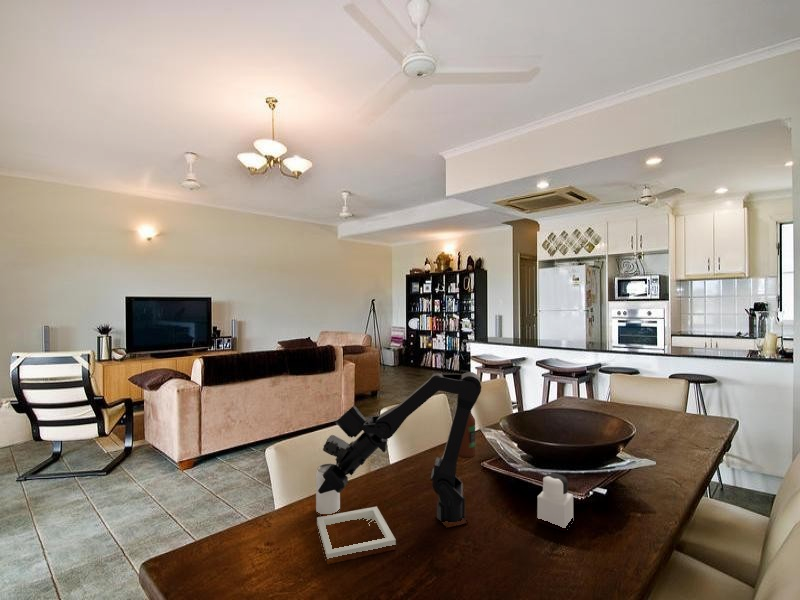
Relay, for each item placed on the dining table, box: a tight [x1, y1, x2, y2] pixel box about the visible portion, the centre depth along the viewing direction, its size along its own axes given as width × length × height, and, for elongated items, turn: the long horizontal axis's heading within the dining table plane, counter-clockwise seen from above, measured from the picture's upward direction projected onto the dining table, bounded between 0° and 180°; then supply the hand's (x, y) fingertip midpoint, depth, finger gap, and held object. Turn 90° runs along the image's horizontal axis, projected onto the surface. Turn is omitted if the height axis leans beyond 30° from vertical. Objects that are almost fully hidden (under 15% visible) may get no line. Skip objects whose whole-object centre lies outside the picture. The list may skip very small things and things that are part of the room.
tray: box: [316, 506, 397, 559], centre depth 101 cm, size 16×16×2 cm
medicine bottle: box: [536, 473, 574, 528], centre depth 107 cm, size 7×7×12 cm
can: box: [315, 463, 341, 514], centre depth 114 cm, size 6×6×12 cm
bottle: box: [458, 410, 476, 458], centre depth 153 cm, size 7×7×25 cm
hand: (323, 486), depth 114 cm, fingers closed on can, 6 cm apart
